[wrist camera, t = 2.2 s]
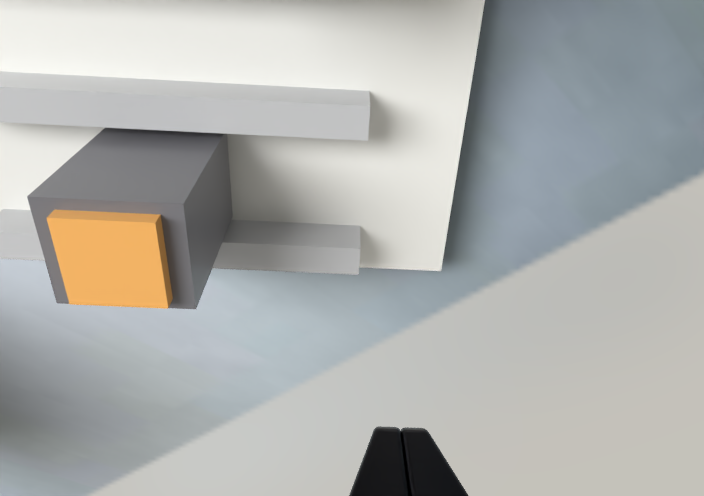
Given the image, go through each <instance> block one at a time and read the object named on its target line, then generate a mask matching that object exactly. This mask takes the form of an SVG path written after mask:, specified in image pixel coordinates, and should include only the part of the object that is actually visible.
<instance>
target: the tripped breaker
mask: <svg viewBox="0 0 704 496" xmlns="http://www.w3.org/2000/svg"><path fill="white" fill-rule="evenodd" d="M27 199H28V202H29V206H30V209H31V213H32V216H33V220H34V223H35V227H36V230H37V234H38V237H39V241H40V245H41V248H42V252H43V255H44V259H45V262H46V266H47V269H48V273H49V276H50V280H51V284H52V287H53V291H54V294H55V298H56V301H57V303H66V304H76V305H99V306H122V307H145V308H181V309H196V308H197V305H198V303H199V300H200V298H201V295H202V292H203V290H204V287H205V285H206V282H207V280H208V277H209V275H210V272H211V270H212V267H213V265H214V262H215V260H216V257H217V255H218V252H219V250H220V247H221V245H222V242H223V239H224V237H225V234H226V232H227V229H228V227H229V224H230V222H231V219H232V217H233V213H232V198H231V184H230V169H229V155H228V140H227V134H223V133H203V132H183V131H164V130H144V129H124V128H104V129H103V130H102V131H101V132H100V133H99V134H97V135H96V136H95V137H94V138H93V139H92V140H91V141H89V142H88V143H87V144H86V145H85V146H84V147H83V148H81V149H80V150H79V151H78V152H77V153H76V154H75V155H74V156H72V157H71V158H70V159H69V160H68V161H67V162H66V163H64V164H63V165H62V166H61V167H60V168H59V169H58V170H57V171H55V172H54V173H53V174H52V175H51V176H50V177H49V178H47V179H46V180H45V181H44V182H43V183H42V184H41V185H39V186H38V187H37V188H36V189H35V190H34V191H33V192H32V193H30V194H29V195H28V196H27Z"/></svg>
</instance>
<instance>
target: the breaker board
mask: <svg viewBox="0 0 704 496" xmlns="http://www.w3.org/2000/svg"><path fill="white" fill-rule="evenodd" d="M484 3H485V0H0V259H20V260H42V261H45V259H44V255H43V252H42V248H41V245H40V241H39V237H38V234H37V230H36V227H35V223H34V220H33V216H32V213H31V209H30V206H29V202H28V199H27V196H28V195H29V194H30V193H32V192H33V191H34V190H35V189H36V188H37V187H38V186H39V185H41V184H42V183H43V182H44V181H45V180H46V179H47V178H49V177H50V176H51V175H52V174H53V173H54V172H55V171H57V170H58V169H59V168H60V167H61V166H62V165H63V164H64V163H66V162H67V161H68V160H69V159H70V158H71V157H72V156H74V155H75V154H76V153H77V152H78V151H79V150H80V149H81V148H83V147H84V146H85V145H86V144H87V143H88V142H89V141H91V140H92V139H93V138H94V137H95V136H96V135H97V134H99V133H100V132H101V131H102V130H103V129H104V128H124V129H144V130H164V131H183V132H203V133H223V134H227V140H228V155H229V169H230V184H231V198H232V213H233V217H232V219H231V222H230V224H229V227H228V229H227V232H226V234H225V237H224V239H223V242H222V245H221V247H220V250H219V252H218V255H217V257H216V260H215V262H214V265H213V267H212V268H220V269H242V270H264V271H286V272H308V273H331V274H353V275H359V267H362V268H384V269H406V270H428V271H441V268H442V262H443V256H444V249H445V243H446V237H447V231H448V225H449V219H450V212H451V206H452V200H453V194H454V188H455V182H456V176H457V169H458V163H459V157H460V151H461V145H462V139H463V133H464V126H465V120H466V114H467V108H468V102H469V96H470V90H471V83H472V77H473V71H474V65H475V59H476V53H477V46H478V40H479V34H480V28H481V22H482V16H483V10H484Z"/></svg>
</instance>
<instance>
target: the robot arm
mask: <svg viewBox="0 0 704 496" xmlns="http://www.w3.org/2000/svg"><path fill="white" fill-rule="evenodd" d="M349 496H468V494H467V493H466V491H465V489H464V488H463V486H462V485H461V483H460V482H459V480H458V478H457V477H456V475H455V474H454V472H453V470H452V469H451V467H450V466H449V464H448V462H447V461H446V459H445V458H444V456H443V455H442V453H441V451H440V450H439V448H438V447H437V445H436V444H435V442H434V440H433V439H432V437H431V435H430V434H429V432H428V431H427V430H425V429H423V428H403V429H401V431H400V430H399V428H396V427H376V428H375V429H374V431H373V434H372V437H371V439H370V442H369V445H368V447H367V450H366V453H365V455H364V458H363V461H362V463H361V466H360V468H359V471H358V474H357V476H356V479H355V482H354V485H353V487H352V490H351V493H350V495H349Z"/></svg>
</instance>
